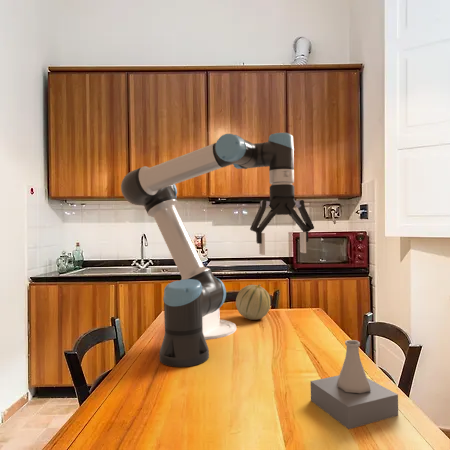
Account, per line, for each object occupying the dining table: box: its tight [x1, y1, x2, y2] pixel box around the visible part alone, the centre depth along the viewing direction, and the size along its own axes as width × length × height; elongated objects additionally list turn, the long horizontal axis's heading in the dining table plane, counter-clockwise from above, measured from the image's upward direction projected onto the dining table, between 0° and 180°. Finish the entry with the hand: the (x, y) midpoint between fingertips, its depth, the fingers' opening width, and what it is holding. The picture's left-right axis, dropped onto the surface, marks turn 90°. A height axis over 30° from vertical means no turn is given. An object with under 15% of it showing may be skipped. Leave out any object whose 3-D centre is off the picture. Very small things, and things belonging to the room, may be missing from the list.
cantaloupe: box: [235, 283, 271, 321], centre depth 159 cm, size 15×15×15 cm
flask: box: [337, 339, 371, 393], centre depth 83 cm, size 7×7×10 cm
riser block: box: [310, 374, 399, 430], centre depth 82 cm, size 13×13×5 cm
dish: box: [202, 308, 237, 341], centre depth 145 cm, size 25×25×11 cm
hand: (283, 253), depth 115 cm, fingers open, 13 cm apart
